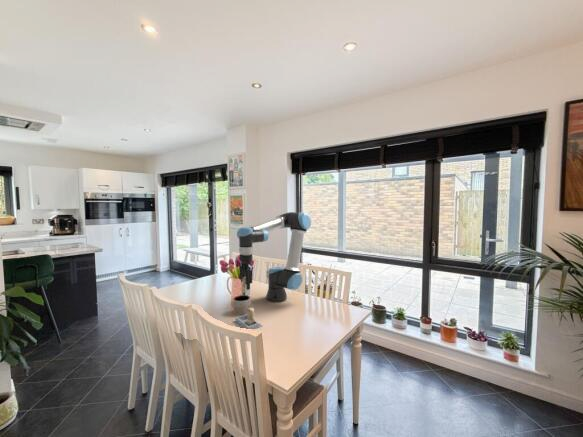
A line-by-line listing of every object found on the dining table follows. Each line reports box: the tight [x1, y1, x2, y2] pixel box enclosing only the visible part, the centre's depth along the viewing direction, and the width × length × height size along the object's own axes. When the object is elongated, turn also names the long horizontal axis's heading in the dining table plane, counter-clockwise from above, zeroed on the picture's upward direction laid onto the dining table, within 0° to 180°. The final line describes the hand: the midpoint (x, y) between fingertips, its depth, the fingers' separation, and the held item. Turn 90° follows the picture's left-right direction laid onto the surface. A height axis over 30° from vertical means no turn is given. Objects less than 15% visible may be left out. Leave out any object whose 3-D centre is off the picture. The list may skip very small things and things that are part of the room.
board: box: [232, 314, 264, 330], centre depth 149 cm, size 12×16×3 cm
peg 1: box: [241, 277, 248, 296], centre depth 151 cm, size 4×4×10 cm
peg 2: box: [247, 307, 255, 326], centre depth 145 cm, size 4×4×10 cm
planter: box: [232, 294, 252, 316], centre depth 165 cm, size 11×11×10 cm
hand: (245, 293), depth 151 cm, fingers closed on peg 1, 4 cm apart
